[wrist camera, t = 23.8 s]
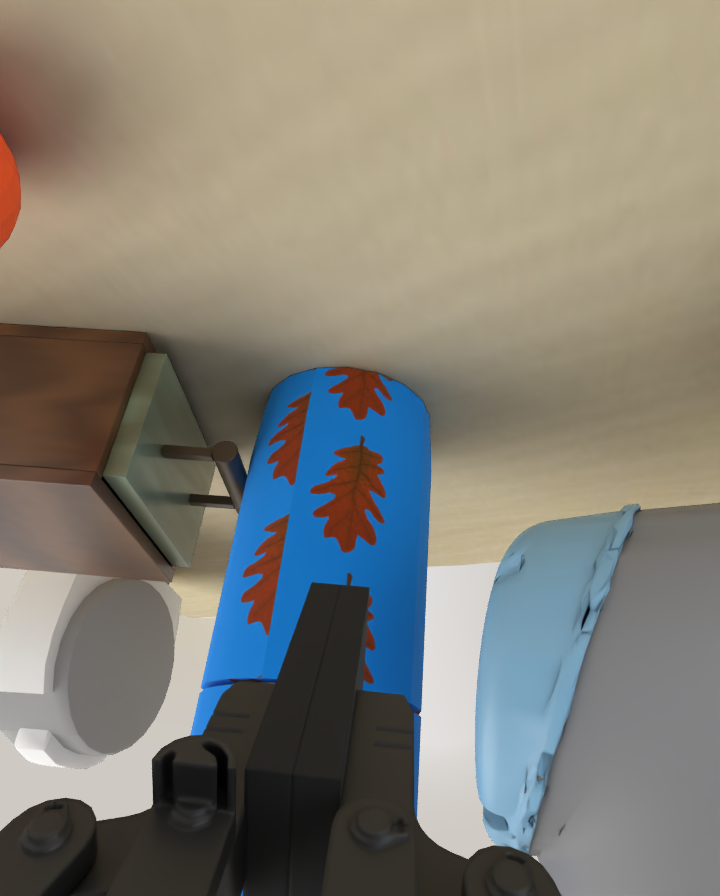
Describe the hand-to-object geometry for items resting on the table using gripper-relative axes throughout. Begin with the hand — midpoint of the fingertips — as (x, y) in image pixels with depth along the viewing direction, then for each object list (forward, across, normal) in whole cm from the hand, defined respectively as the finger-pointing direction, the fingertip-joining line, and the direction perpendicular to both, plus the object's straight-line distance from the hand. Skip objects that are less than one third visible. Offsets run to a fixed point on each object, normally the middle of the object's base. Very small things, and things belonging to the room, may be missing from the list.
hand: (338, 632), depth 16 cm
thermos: (+24, -2, +1) cm, 24 cm away
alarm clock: (+44, -27, -18) cm, 55 cm away
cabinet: (+24, -20, +1) cm, 31 cm away
